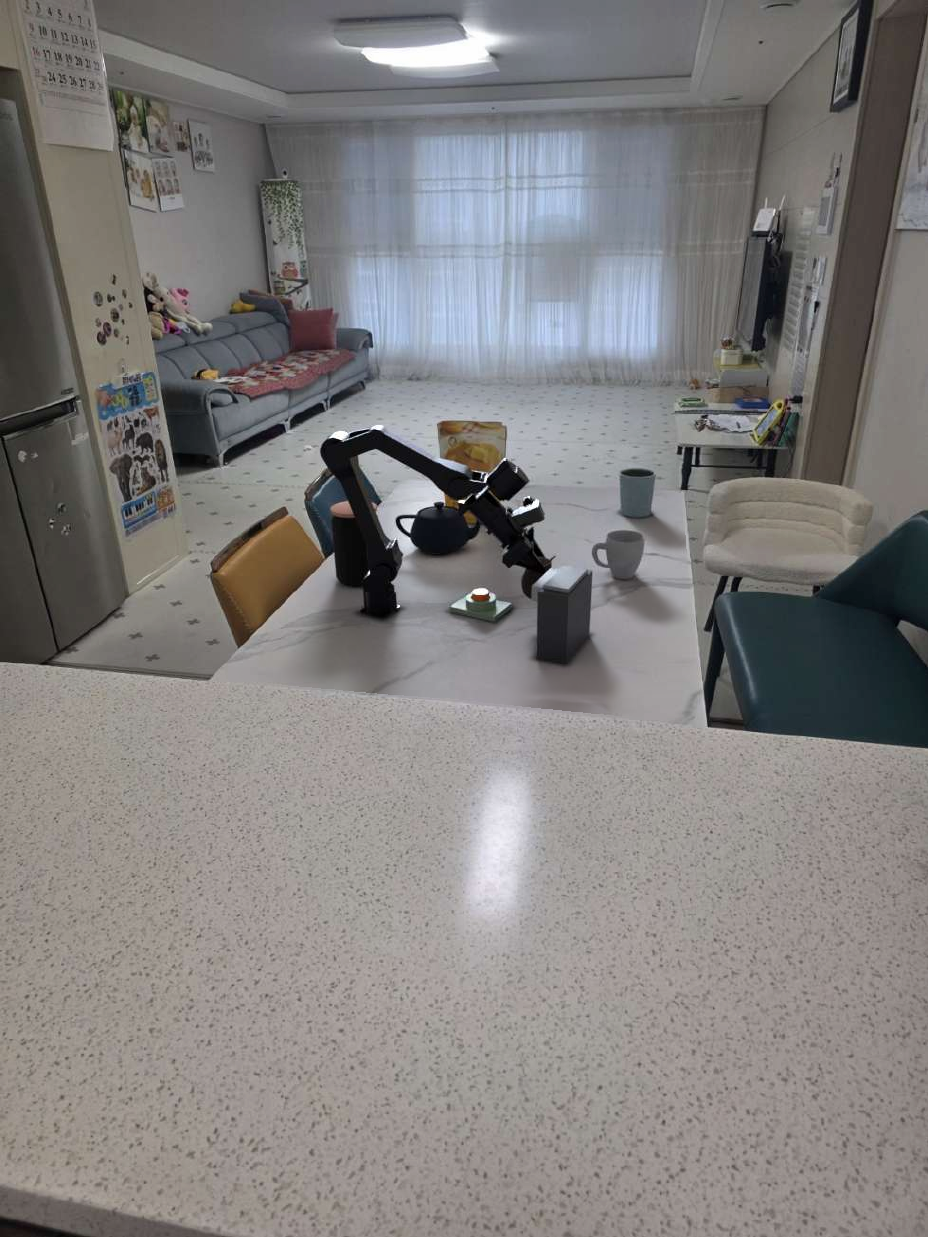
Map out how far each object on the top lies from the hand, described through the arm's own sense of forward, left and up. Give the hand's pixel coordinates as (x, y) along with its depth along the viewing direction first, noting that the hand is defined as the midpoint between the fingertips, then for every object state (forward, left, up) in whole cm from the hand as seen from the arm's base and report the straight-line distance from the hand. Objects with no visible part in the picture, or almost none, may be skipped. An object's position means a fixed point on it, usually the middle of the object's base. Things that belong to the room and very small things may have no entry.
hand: (545, 567), depth 171 cm
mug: (+5, +28, -11) cm, 31 cm away
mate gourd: (-1, -1, -7) cm, 7 cm away
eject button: (-13, -5, -8) cm, 16 cm away
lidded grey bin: (+9, -12, -11) cm, 18 cm away
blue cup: (-8, +75, -11) cm, 77 cm away
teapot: (-41, +24, -11) cm, 49 cm away
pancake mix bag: (-46, +47, -11) cm, 67 cm away
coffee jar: (-47, -4, -11) cm, 49 cm away
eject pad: (-13, -5, -11) cm, 18 cm away
